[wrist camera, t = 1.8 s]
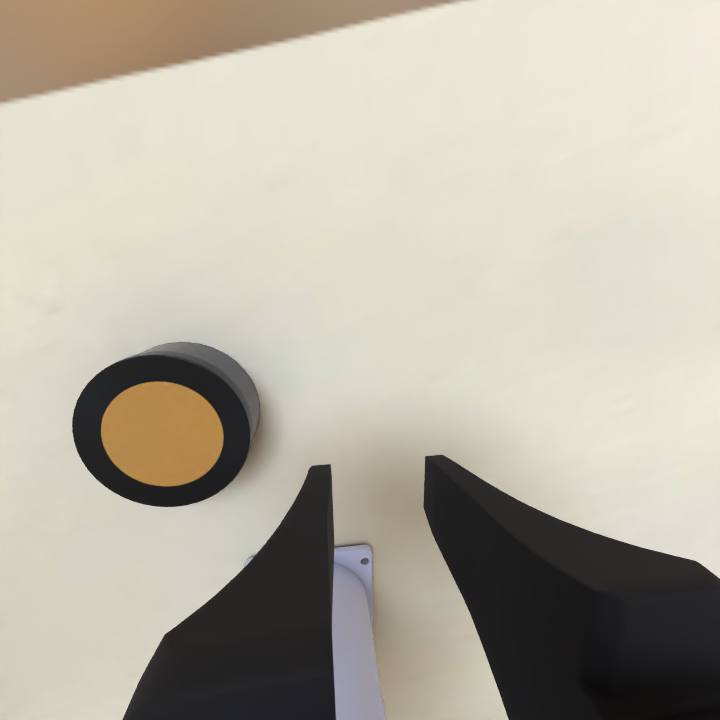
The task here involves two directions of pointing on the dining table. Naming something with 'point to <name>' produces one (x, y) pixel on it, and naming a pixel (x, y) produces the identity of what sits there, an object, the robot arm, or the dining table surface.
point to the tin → (167, 424)
